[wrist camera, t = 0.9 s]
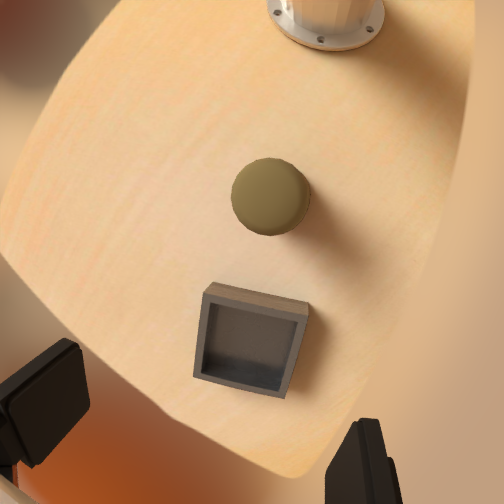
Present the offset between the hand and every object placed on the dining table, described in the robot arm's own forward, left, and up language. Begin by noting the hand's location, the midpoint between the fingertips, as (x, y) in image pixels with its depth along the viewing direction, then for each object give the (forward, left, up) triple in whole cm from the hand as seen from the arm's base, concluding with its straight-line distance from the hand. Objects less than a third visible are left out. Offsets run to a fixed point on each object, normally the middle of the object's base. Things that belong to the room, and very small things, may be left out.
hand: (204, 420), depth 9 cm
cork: (-6, -1, -23) cm, 24 cm away
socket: (+9, -1, -23) cm, 24 cm away
